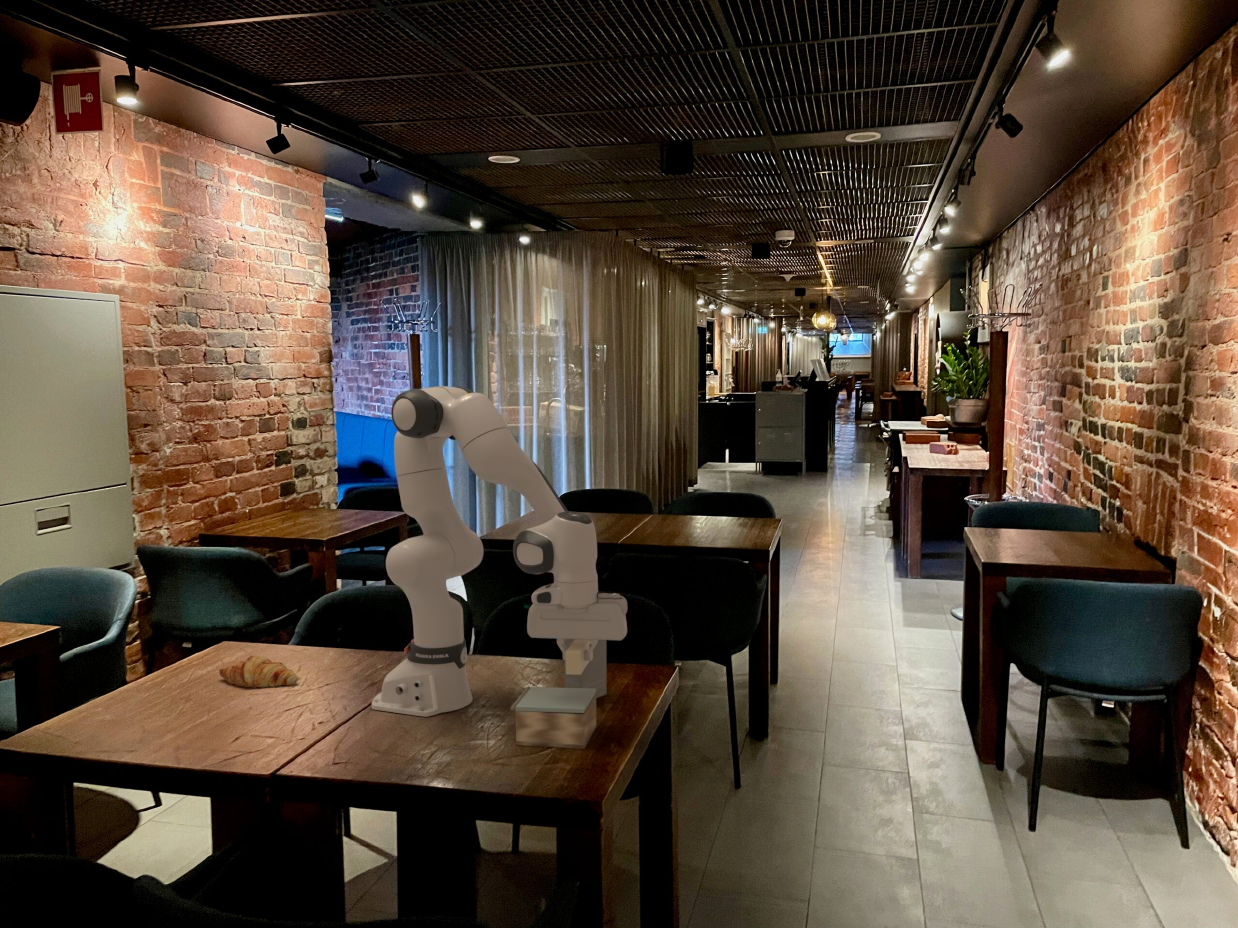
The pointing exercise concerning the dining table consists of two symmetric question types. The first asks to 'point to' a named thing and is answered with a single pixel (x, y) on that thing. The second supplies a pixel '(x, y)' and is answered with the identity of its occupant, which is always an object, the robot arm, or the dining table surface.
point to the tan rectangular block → (576, 657)
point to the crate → (556, 728)
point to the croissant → (258, 673)
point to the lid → (554, 699)
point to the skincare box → (590, 671)
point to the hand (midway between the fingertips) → (577, 659)
